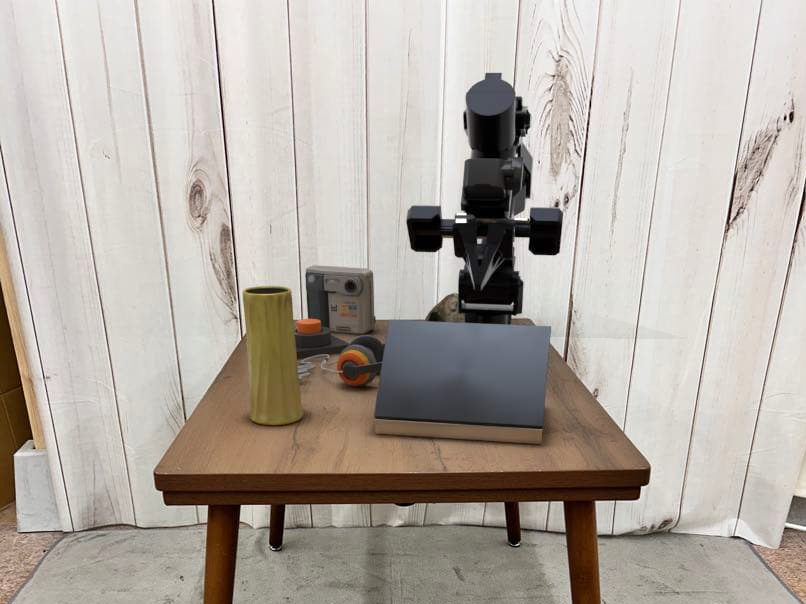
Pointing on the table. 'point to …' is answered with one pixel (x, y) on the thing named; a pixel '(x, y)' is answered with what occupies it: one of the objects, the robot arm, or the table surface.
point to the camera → (341, 298)
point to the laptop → (458, 431)
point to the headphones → (354, 361)
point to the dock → (318, 343)
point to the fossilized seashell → (446, 311)
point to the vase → (272, 355)
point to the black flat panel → (464, 374)
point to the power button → (308, 326)
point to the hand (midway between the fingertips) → (477, 288)
